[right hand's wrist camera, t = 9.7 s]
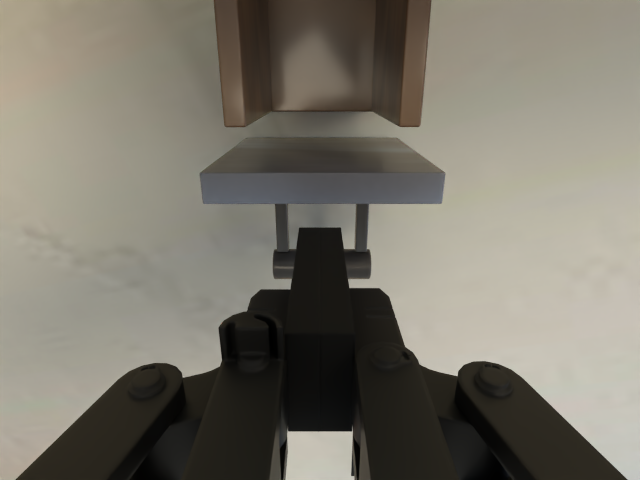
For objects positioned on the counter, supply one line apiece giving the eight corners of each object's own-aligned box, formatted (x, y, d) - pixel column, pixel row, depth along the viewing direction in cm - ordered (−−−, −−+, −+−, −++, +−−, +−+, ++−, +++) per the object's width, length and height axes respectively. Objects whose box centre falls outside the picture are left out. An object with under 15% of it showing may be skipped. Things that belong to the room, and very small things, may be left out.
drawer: (390, 243, 26) (427, 330, 17) (253, 243, 27) (216, 329, 17) (422, -236, 18) (531, -575, 9) (221, -235, 18) (116, -572, 9)
